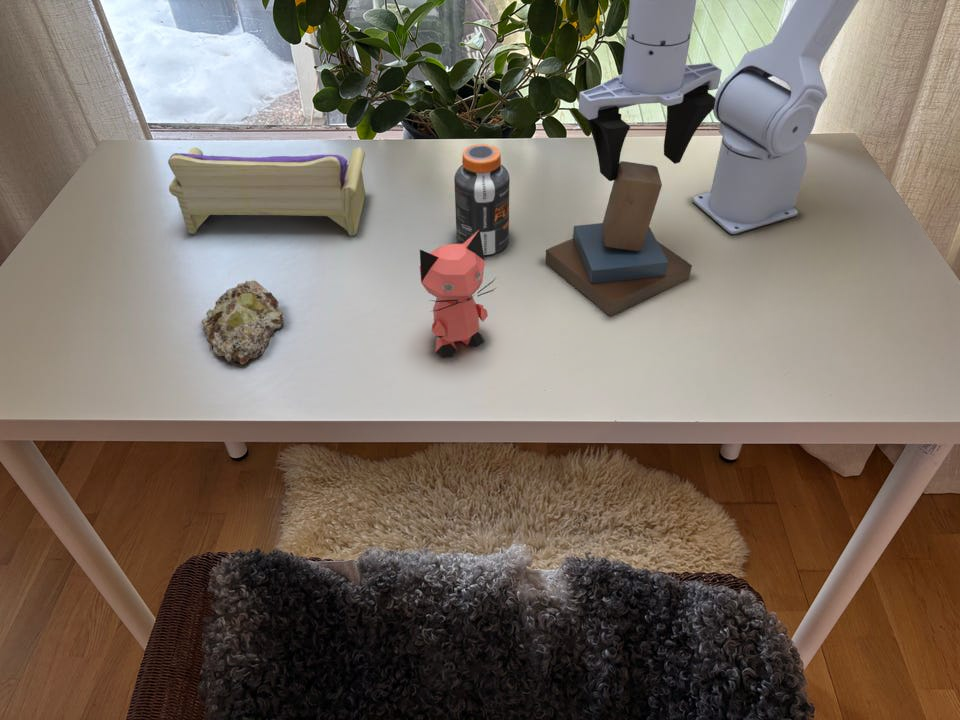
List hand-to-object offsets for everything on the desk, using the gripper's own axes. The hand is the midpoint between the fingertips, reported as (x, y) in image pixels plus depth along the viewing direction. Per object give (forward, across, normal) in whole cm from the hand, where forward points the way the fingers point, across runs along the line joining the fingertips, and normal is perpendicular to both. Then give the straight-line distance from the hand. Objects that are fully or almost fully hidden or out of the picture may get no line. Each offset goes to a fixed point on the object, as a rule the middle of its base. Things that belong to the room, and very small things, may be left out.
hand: (640, 167), depth 79 cm
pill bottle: (+10, -14, +8) cm, 20 cm away
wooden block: (+6, -3, -3) cm, 8 cm away
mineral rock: (+10, -42, +5) cm, 44 cm away
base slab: (+10, -3, -3) cm, 11 cm away
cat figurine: (+10, -23, -6) cm, 26 cm away
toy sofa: (+10, -34, +24) cm, 43 cm away
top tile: (+8, -3, -3) cm, 10 cm away
